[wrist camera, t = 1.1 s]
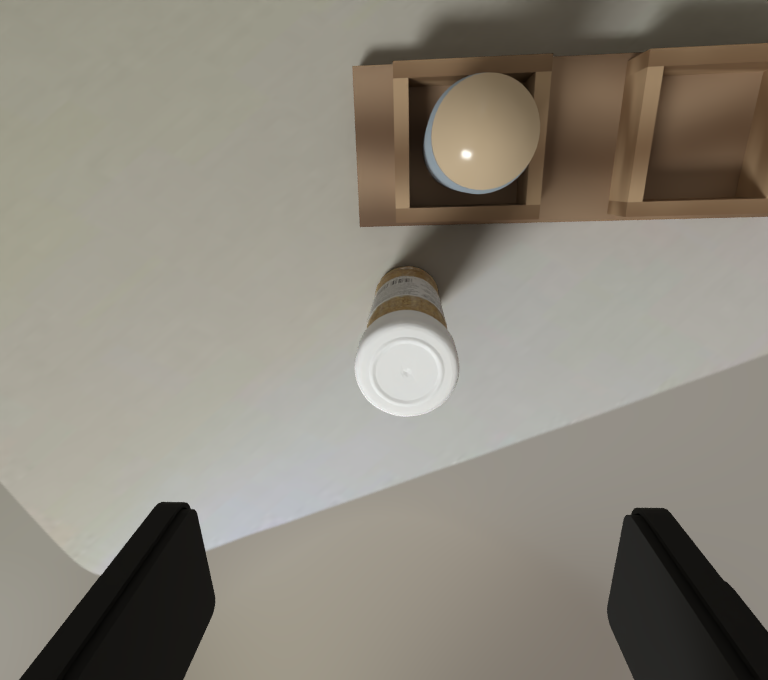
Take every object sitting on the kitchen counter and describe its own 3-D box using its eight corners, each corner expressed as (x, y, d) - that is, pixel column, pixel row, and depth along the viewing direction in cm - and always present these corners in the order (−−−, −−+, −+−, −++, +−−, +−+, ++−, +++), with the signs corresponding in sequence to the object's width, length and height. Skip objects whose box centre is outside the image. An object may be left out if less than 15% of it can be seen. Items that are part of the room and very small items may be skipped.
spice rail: (355, 72, 27) (346, 54, 23) (807, 50, 25) (877, 28, 21) (362, 224, 30) (355, 230, 26) (766, 214, 28) (821, 219, 25)
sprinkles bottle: (380, 330, 32) (361, 425, 20) (371, 268, 31) (344, 328, 18) (443, 322, 32) (465, 415, 19) (436, 259, 30) (455, 315, 18)
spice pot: (422, 102, 26) (427, 69, 18) (509, 98, 26) (550, 64, 18) (422, 192, 28) (427, 196, 20) (503, 189, 27) (539, 192, 20)
